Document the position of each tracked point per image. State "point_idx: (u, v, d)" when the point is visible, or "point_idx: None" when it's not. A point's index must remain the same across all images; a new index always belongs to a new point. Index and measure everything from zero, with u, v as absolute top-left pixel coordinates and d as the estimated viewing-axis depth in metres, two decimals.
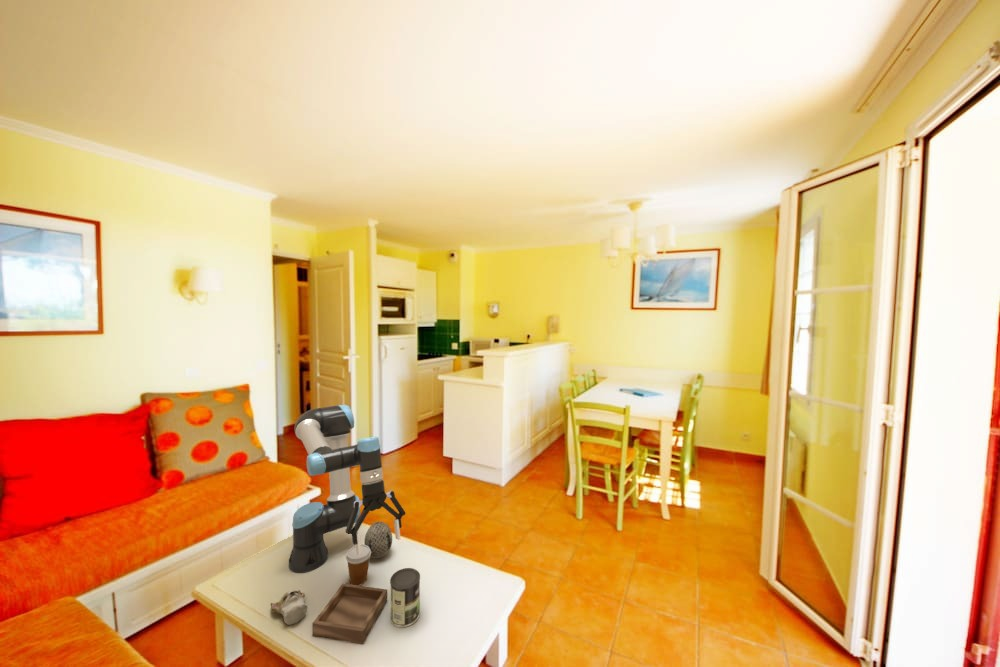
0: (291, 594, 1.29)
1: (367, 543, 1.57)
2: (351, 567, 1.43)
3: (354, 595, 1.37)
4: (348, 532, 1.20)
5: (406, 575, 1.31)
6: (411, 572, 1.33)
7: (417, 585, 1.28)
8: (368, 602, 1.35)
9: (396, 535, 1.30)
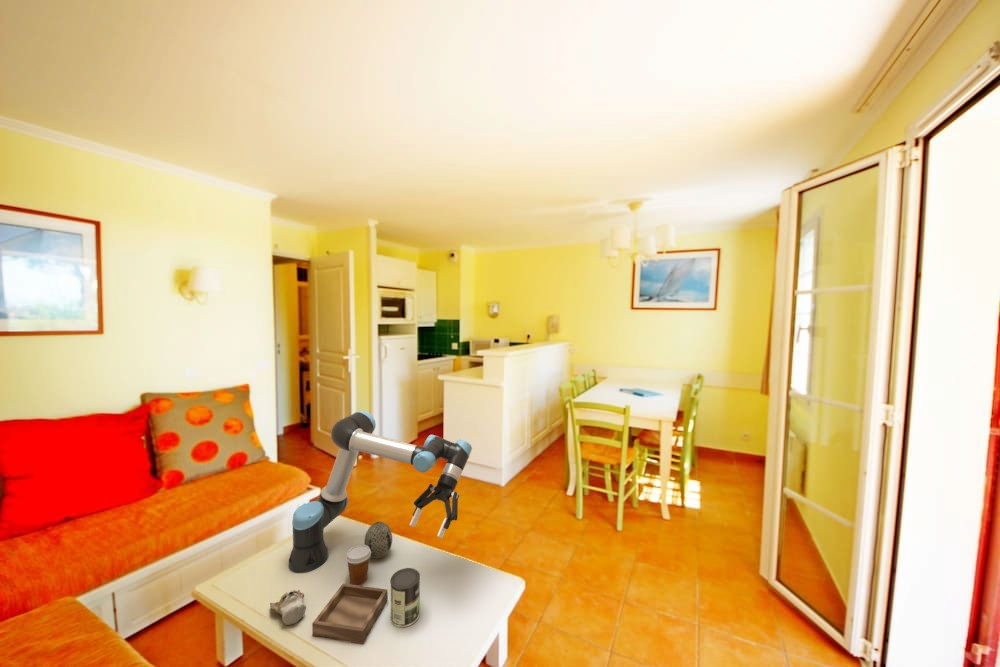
0: (290, 594, 1.29)
1: (367, 543, 1.57)
2: (351, 567, 1.43)
3: (354, 595, 1.37)
4: None
5: (406, 575, 1.31)
6: (411, 572, 1.33)
7: (417, 585, 1.28)
8: (368, 602, 1.35)
9: (413, 522, 1.41)
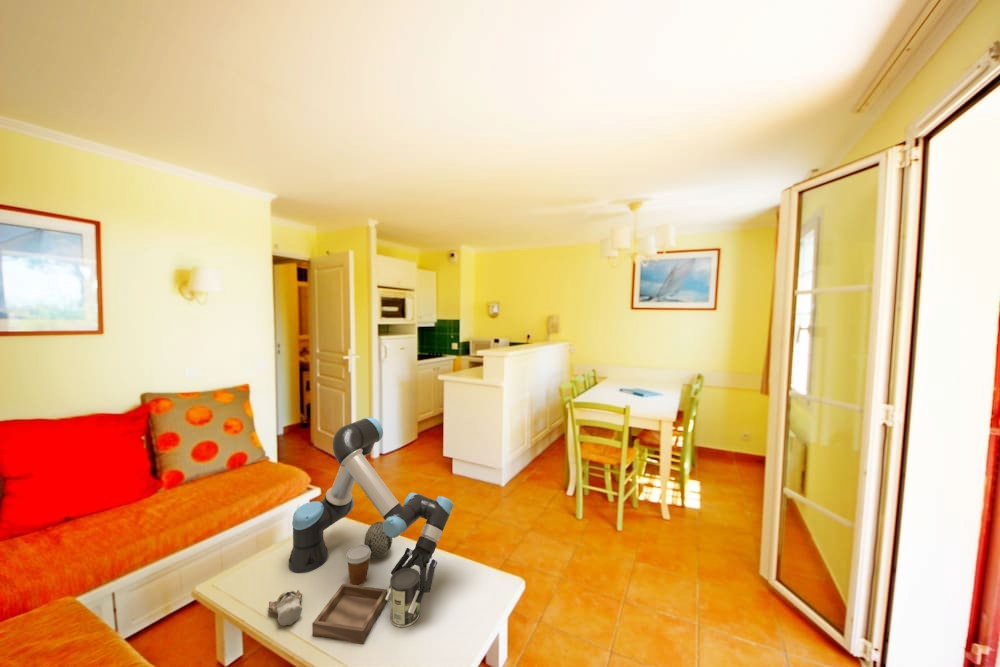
0: (287, 594, 1.29)
1: (367, 543, 1.57)
2: (351, 567, 1.43)
3: (354, 595, 1.37)
4: None
5: (406, 575, 1.31)
6: (411, 571, 1.33)
7: (417, 585, 1.28)
8: (368, 602, 1.35)
9: (390, 596, 1.31)
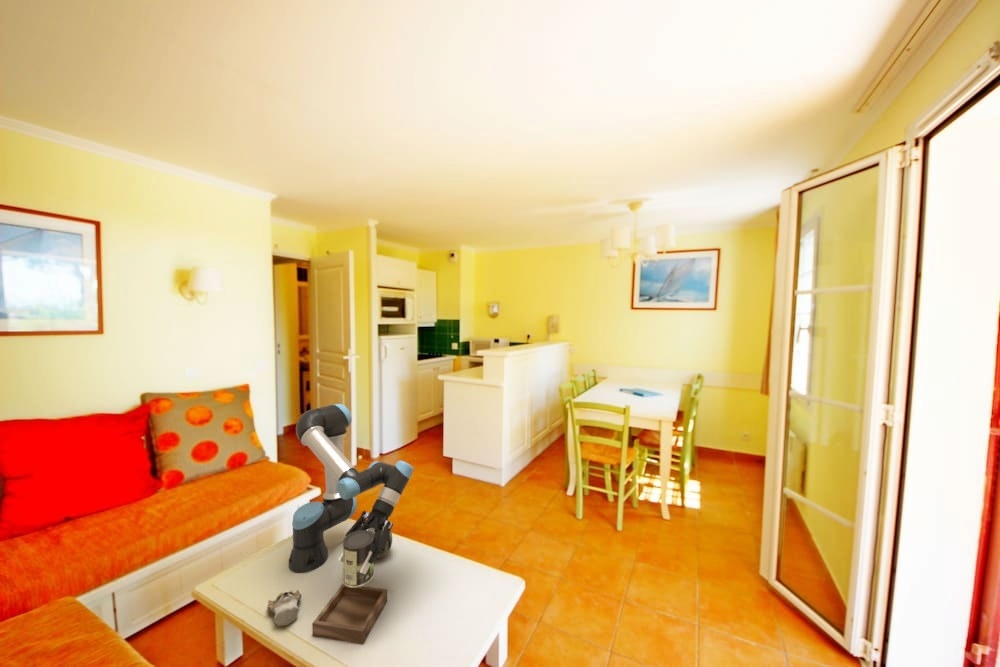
0: (284, 594, 1.29)
1: None
2: None
3: (354, 595, 1.37)
4: None
5: (360, 536, 1.29)
6: (366, 533, 1.31)
7: (370, 546, 1.26)
8: (368, 602, 1.35)
9: None
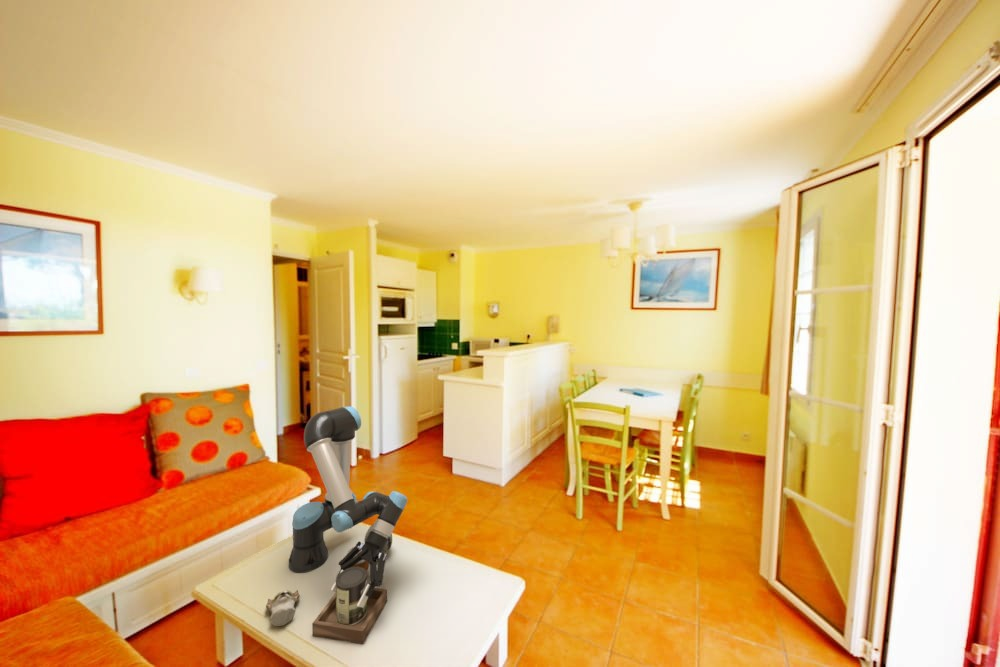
0: (282, 594, 1.29)
1: None
2: None
3: None
4: None
5: (353, 574, 1.30)
6: (359, 570, 1.32)
7: (363, 584, 1.27)
8: (368, 602, 1.35)
9: None
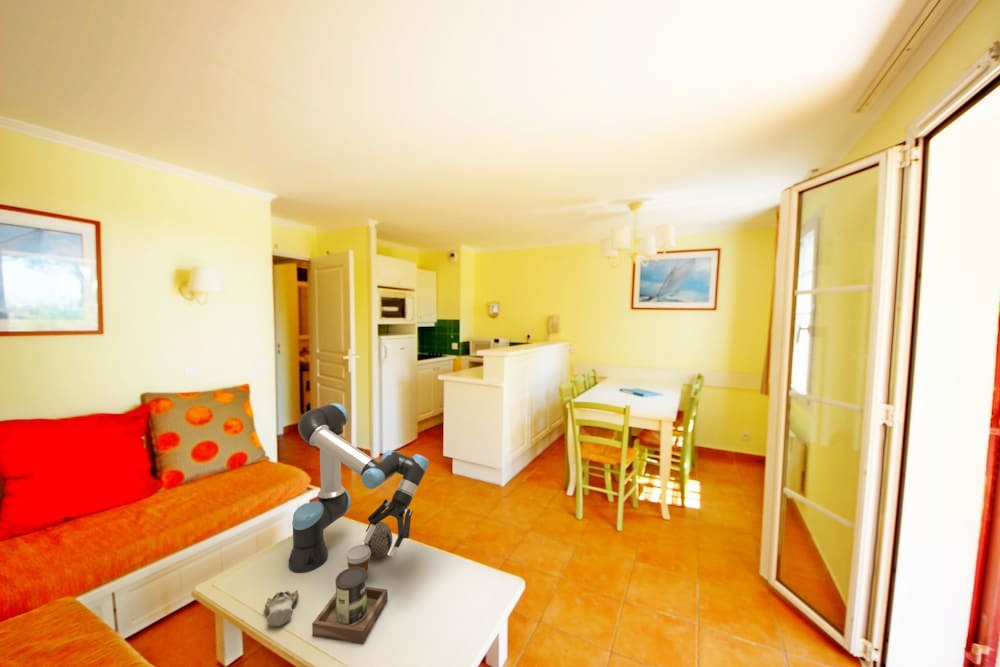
0: (280, 594, 1.29)
1: (367, 543, 1.57)
2: None
3: None
4: None
5: (353, 574, 1.30)
6: (358, 570, 1.32)
7: (362, 584, 1.27)
8: (368, 602, 1.35)
9: (366, 539, 1.42)
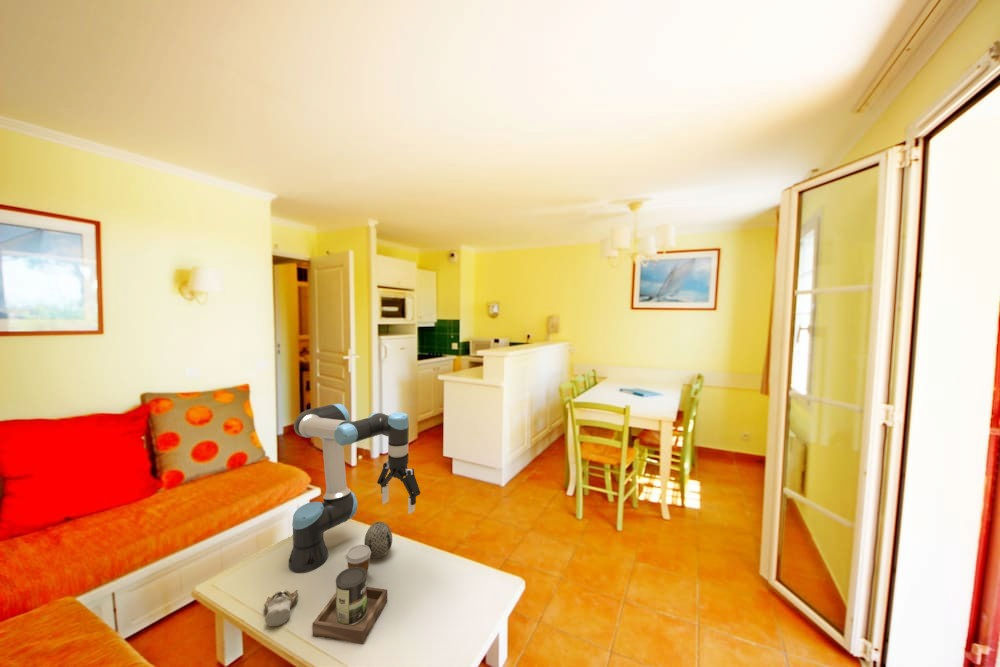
0: (278, 594, 1.29)
1: (367, 543, 1.57)
2: None
3: None
4: None
5: (353, 574, 1.30)
6: (359, 570, 1.32)
7: (363, 584, 1.27)
8: (368, 602, 1.35)
9: (385, 499, 1.44)
